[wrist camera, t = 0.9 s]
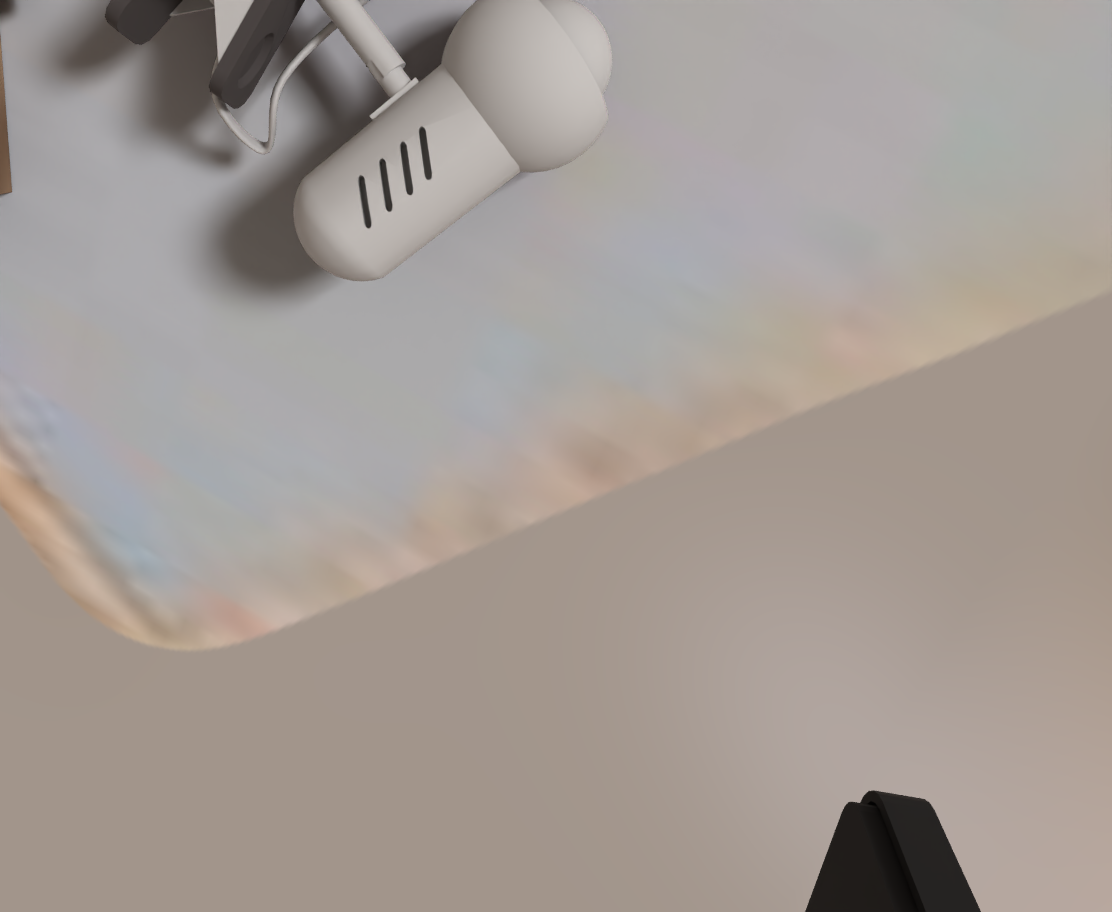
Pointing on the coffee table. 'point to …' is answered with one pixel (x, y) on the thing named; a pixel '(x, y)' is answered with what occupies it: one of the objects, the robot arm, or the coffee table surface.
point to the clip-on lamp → (414, 114)
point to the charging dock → (3, 138)
